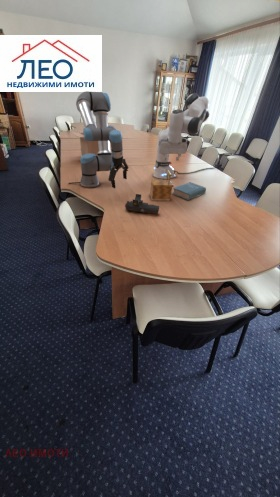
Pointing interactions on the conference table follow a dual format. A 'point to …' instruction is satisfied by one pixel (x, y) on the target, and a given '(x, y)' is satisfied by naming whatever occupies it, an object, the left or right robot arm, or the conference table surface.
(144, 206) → the laser sight
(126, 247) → the conference table surface
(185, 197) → the book
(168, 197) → the chest
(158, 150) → the right robot arm
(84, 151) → the box
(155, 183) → the lid
